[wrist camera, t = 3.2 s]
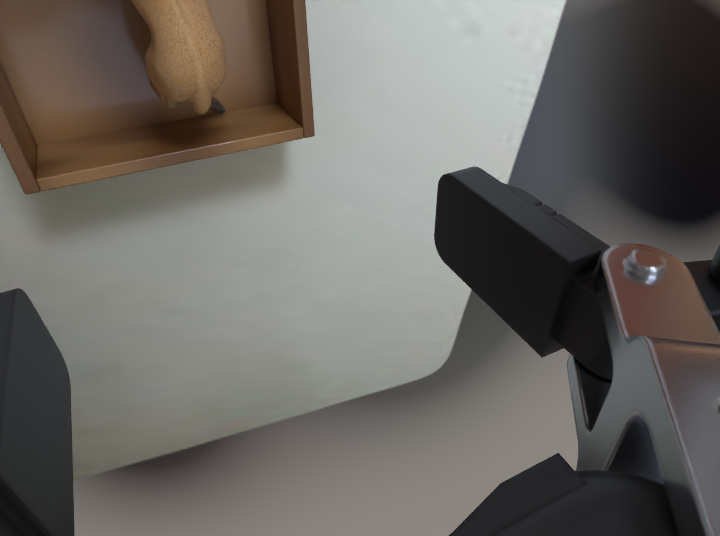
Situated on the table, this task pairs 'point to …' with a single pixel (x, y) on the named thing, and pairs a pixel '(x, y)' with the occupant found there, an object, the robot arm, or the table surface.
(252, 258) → the table surface
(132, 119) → the brown wooden shallow box
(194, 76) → the lion figurine
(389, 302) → the table surface
